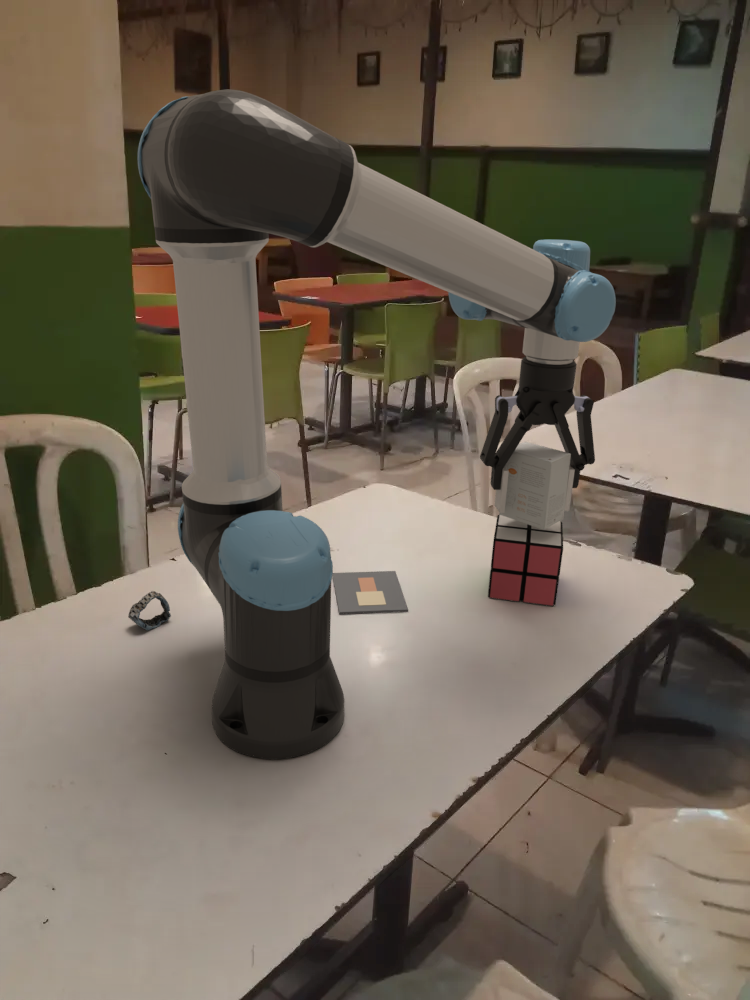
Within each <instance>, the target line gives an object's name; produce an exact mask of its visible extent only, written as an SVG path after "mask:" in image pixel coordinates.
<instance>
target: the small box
mask: <svg viewBox="0 0 750 1000" xmlns="http://www.w3.org/2000/svg"><path fill="white" fill-rule="evenodd" d="M570 458H571V454H570V453H567V452H565V451H562V450H559V449H555V448H552V447H548V446H544V445H540V444H536V443H533V442H529V441H523V442H520V443H519V444H518V446H517V448H516V449H515V451H514V452H513V454H512V455H511V457H510V459H509V460H508V462H507V463H506V465H505V467H506V468H507V469H508V471H509V474H508V484H507V493H506V503H505V512H504V513H499V512H498V513H499V514H500V515H502V516H505V517H508V518H511V519H514V520H517V521H520V522H523V523H525V524H528V525H531V526H534V527H537V528H540V529H543V530H544V529H546V528H548V527H550V526H552V525H553V524H555V523H557V522H559V521H561V522H562V520H564V518H565V517H564V516H565V511H564V509H565V501H566V492H567V484H568V475H569V467H570ZM499 514H498V515H499Z"/></svg>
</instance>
